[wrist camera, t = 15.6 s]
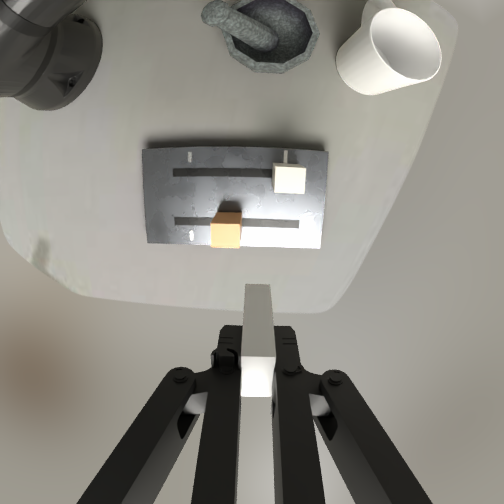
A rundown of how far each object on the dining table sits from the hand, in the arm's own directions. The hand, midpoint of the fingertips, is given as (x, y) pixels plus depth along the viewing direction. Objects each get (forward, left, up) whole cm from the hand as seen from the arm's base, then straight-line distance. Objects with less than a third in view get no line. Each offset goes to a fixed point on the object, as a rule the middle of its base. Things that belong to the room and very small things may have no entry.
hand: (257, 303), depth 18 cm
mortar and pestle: (0, +22, -20) cm, 30 cm away
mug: (+13, +23, -20) cm, 33 cm away
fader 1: (-3, 0, -18) cm, 18 cm away
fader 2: (+3, +6, -18) cm, 19 cm away
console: (-3, +3, -20) cm, 21 cm away
